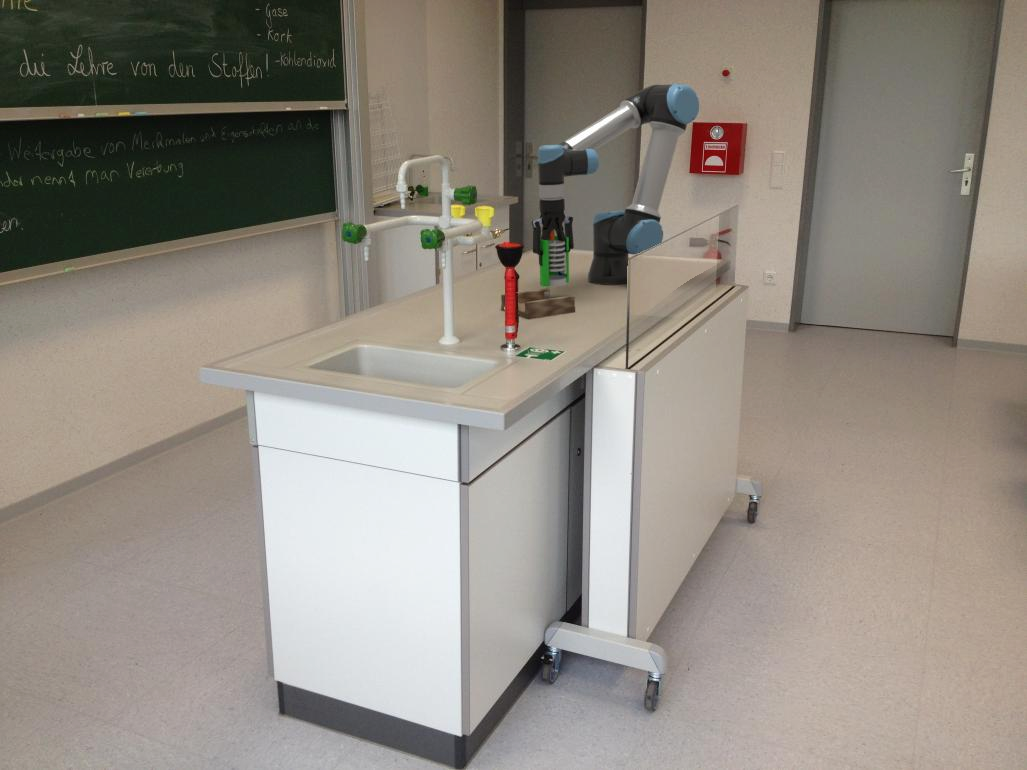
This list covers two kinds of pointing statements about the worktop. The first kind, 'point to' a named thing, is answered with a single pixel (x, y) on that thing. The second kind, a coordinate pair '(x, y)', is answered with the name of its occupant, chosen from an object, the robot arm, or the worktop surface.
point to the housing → (542, 304)
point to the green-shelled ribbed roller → (554, 261)
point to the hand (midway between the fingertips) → (554, 274)
